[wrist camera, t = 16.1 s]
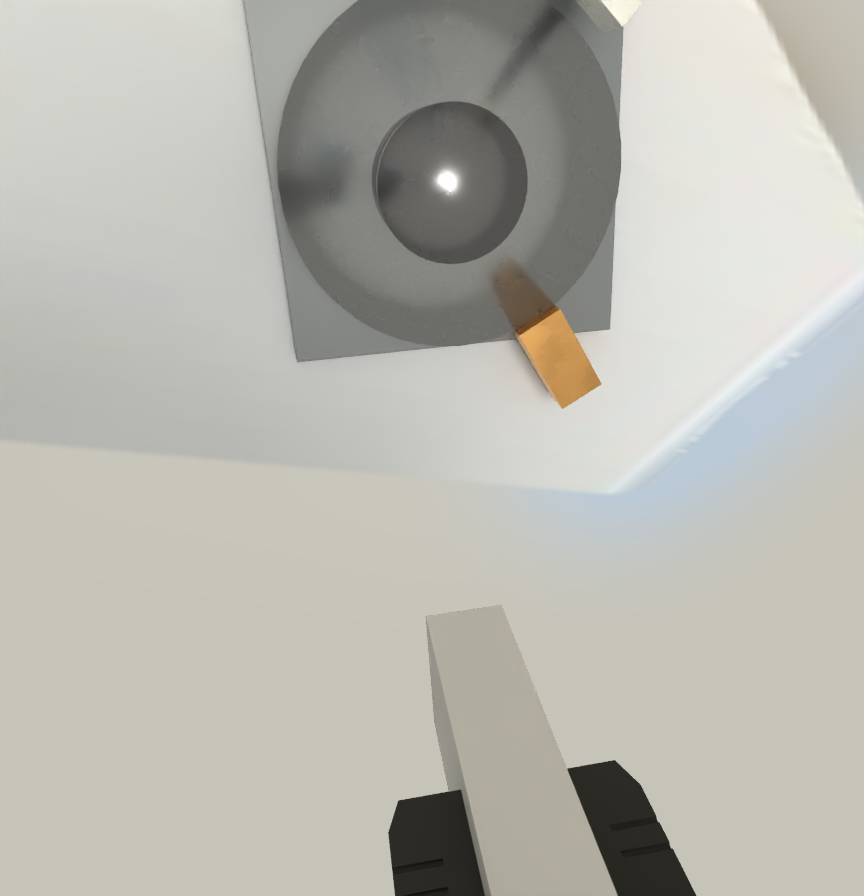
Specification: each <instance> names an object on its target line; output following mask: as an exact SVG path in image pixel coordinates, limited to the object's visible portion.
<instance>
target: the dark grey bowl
mask: <svg viewBox="0 0 864 896" xmlns="http://www.w3.org/2000/svg"><path fill="white" fill-rule="evenodd" d="M527 186H528V176H527V167H526V161H525V157H524V154H523V151H522V149H521V146H520V144H519V142H518V140H517V138H516V137H515V135H514V134H513V132H512V131H511V129H510V128H509V127H508V126H507V125H506V124H505V123H504V122H503V121H502V120H501V119H500V118H499V117H498V116H496V115H495V114H493V113H492V112H490V111H489V110H487V109H485V108H483V107H481V106H478V105H475V104H471V103H467V102H460V101H449V102H442V103H436V104H432V105H428V106H424V107H421V108H418V109H416V110H413V111H411V112H409V113H408V114H406V115H405V116H403V117H402V118H400V119H399V120H398V121H397V122H396V123H395V124H394V125H393V126H392V127H391V128H390V129H389V130H388V132H387V133H386V135H385V136H384V138H383V139H382V141H381V143H380V145H379V147H378V149H377V152H376V155H375V158H374V163H373V167H372V191H373V197H374V200H375V204H376V207H377V209H378V212H379V214H380V216H381V218H382V219H383V221H384V223H385V224H386V225H387V227H388V228H389V229H390V231H391V232H392V233H393V234H394V236H395V237H396V238H397V240H398V241H399V242H400V243H401V244H402V245H403V246H404V247H406V248H407V249H408V250H410V251H411V252H412V253H414V254H416V255H418V256H419V257H421V258H424V259H426V260H429V261H432V262H436V263H443V264H459V263H466V262H469V261H473V260H476V259H478V258H480V257H483V256H485V255H486V254H488V253H490V252H491V251H493V250H494V249H495V248H497V247H498V246H499V245H500V244H501V243H502V242H503V241H504V240H505V239H506V238H507V237H508V236H509V234H510V233H511V232H512V230H513V229H514V227H515V226H516V224H517V222H518V220H519V218H520V216H521V213H522V211H523V208H524V204H525V201H526V195H527Z"/></svg>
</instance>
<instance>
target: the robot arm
mask: <svg viewBox="0 0 864 896" xmlns="http://www.w3.org/2000/svg"><path fill="white" fill-rule="evenodd" d="M426 625H427V637H428V649H429V661H430V673H431V686H432V699H433V711H434V722H435V727H436V732H437V736H438V742H439V746H440V751H441V756H442V761H443V766H444V771H445V775H446V780H447V785H448V790H449V792H445V793H439V794H433V795H427V796H422V797H416V798H410V799H405V800H400V801H398V804H397V807H396V810H395V813H394V816H393V820H392V823H391V826H390V829H389V833H388V834H389V843H390V851H391V860H392V870H393V880H394V889H395V896H696V894H695V892H694V890H693V888H692V886H691V884H690V882H689V880H688V878H687V876H686V874H685V872H684V870H683V868H682V867H681V864H680V862H679V861H678V859H677V857H676V854H675V853H674V850H673V849H671V847H670V844H669V840H668V839H667V836H666V834H665V832H664V831H663V829H662V827H661V825H660V823H659V822H658V821H657V818H656V815H655V813H654V811H653V809H652V807H651V805H650V803H649V801H648V799H647V797H646V795H645V793H644V791H643V789H642V787H641V785H640V784H639V783H638V782H637V781H636V780H635V779H634V778H633V777H632V776H631V775H630V774H629V773H628V772H627V771H625V770H624V769H623V768H622V767H621V766H620V765H619V764H618V763H617V762H616V761H615V760H613V761H608V762H603V763H597V764H592V765H585V766H580V767H574V768H568V769H567V768H566V765H565V763H564V760H563V758H562V755H561V753H560V750H559V748H558V745H557V743H556V740H555V738H554V735H553V733H552V730H551V728H550V725H549V723H548V720H547V718H546V715H545V713H544V710H543V708H542V705H541V703H540V700H539V698H538V695H537V693H536V690H535V688H534V685H533V683H532V680H531V678H530V675H529V673H528V670H527V668H526V665H525V663H524V660H523V658H522V655H521V653H520V650H519V648H518V645H517V643H516V640H515V638H514V635H513V633H512V630H511V628H510V625H509V622H508V620H507V618H506V615H505V612H504V610H503V608H502V606H501V605H498V606H491V607H484V608H477V609H470V610H464V611H457V612H450V613H444V614H437V615H430V616H426Z"/></svg>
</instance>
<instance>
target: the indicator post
mask: <svg viewBox="0 0 864 896" xmlns="http://www.w3.org/2000/svg"><path fill="white" fill-rule="evenodd" d="M576 1H577V3H578V4H579V5H580V6H581V7H582V9H583V10H584V11H585V12H586V13H587V15H588V16H589V17H590V18H591V19H592V21H593V22H594V23H595V24H596V25H597V27H598V28H599V29H600V30H601V31H602V33H606V32H609V31H612V30H614V29H617V28H620V27H623V26H624V24H625V23H626V22H627V21H628V20H629V18H630V17H631V16H632V15H633V14H634V12H635V11H636V10H637V9H638V8H639V6H640V5H641V4H642V3H643V2H644V0H576Z"/></svg>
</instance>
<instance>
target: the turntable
mask: <svg viewBox="0 0 864 896" xmlns="http://www.w3.org/2000/svg"><path fill="white" fill-rule="evenodd" d="M449 101H460V102H467V103H471V104H475V105H478V106H481V107H483V108H485V109H487V110H489V111H490V112H492V113H493V114H495V115H496V116H498V117H499V118H500V119H501V120H502V121H503V122H504V123H505V124H506V125H507V126H508V127H509V128H510V129H511V131H512V132H513V134H514V135H515V137H516V138H517V140H518V142H519V144H520V146H521V149H522V151H523V154H524V157H525V161H526V167H527V176H528V186H527V195H526V201H525V204H524V208H523V211H522V213H521V216H520V218H519V220H518V222H517V224H516V226H515V227H514V229H513V230H512V232H511V233H510V234H509V236H508V237H507V238H506V239H505V240H504V241H503V242H502V243H501V244H500V245H499V246H498V247H497V248H495V249H494V250H493V251H491V252H490V253H488V254H486V255H485V256H483V257H480V258H478V259H476V260H473V261H469V262H466V263H459V264H443V263H436V262H432V261H429V260H426V259H424V258H421V257H419V256H418V255H416V254H414V253H412V252H411V251H410V250H408V249H407V248H406V247H404V246H403V245H402V244H401V243H400V242H399V241H398V240H397V238H396V237H395V236H394V234H393V233H392V232H391V231H390V229H389V228H388V227H387V225H386V224H385V223H384V221H383V219H382V218H381V216H380V214H379V212H378V209H377V207H376V204H375V200H374V197H373V191H372V167H373V163H374V158H375V155H376V152H377V149H378V147H379V145H380V143H381V141H382V139H383V138H384V136H385V135H386V133H387V132H388V130H389V129H390V128H391V127H392V126H393V125H394V124H395V123H396V122H397V121H398V120H399V119H400V118H402V117H403V116H405V115H406V114H408V113H409V112H411V111H413V110H416V109H418V108H421V107H424V106H428V105H432V104H436V103H442V102H449ZM277 170H278V186H279V192H280V197H281V203H282V208H283V212H284V216H285V219H286V222H287V225H288V228H289V231H290V234H291V237H292V239H293V241H294V243H295V245H296V247H297V250H298V252H299V254H300V256H301V258H302V259H303V261H304V262H305V264H306V266H307V267H308V269H309V271H310V272H311V274H312V275H313V277H314V278H315V279H316V280H317V282H318V283H319V284H320V285H321V286H322V288H323V289H324V290H325V291H326V293H327V294H328V295H329V296H331V297H332V298H333V299H334V300H335V301H336V302H337V303H338V304H339V305H340V306H341V307H342V308H343V309H345V310H346V311H347V312H349V313H350V314H351V315H353V316H354V317H355V318H357V319H358V320H360V321H361V322H363V323H365V324H367V325H368V326H370V327H372V328H374V329H376V330H377V331H379V332H382V333H385V334H387V335H390V336H392V337H395V338H397V339H401V340H405V341H409V342H413V343H417V344H424V345H433V346H460V345H467V344H474V343H480V342H484V341H487V340H491V339H494V338H498V337H501V336H503V335H505V334H508V333H510V332H512V331H513V333H514V334H515V336H516V338H517V339H518V341H519V343H520V344H521V346H522V348H523V350H524V351H525V353H526V355H527V356H528V358H529V360H530V361H531V363H532V365H533V366H534V368H535V370H536V371H537V373H538V375H539V377H540V378H541V380H542V382H543V383H544V385H545V387H546V388H547V390H548V392H549V393H550V395H551V397H552V398H553V399H554V400H555V401H556V402H557V403H558V404H559V406H560V407H561V408H562V409H563V408H565V407H566V406H568V405H569V404H571V403H573V402H574V401H576V400H577V399H579V398H580V397H582V396H584V395H585V394H587V393H588V392H590V391H591V390H593V389H595V388H596V387H598V386H599V385H601V382H600V380H599V379H598V377H597V375H596V373H595V371H594V369H593V368H592V366H591V364H590V362H589V360H588V358H587V357H586V355H585V353H584V351H583V349H582V347H581V346H580V344H579V342H578V340H577V338H576V337H575V335H574V333H573V331H572V329H571V327H570V326H569V324H568V322H567V320H566V318H565V316H564V315H563V313H562V311H561V309H560V308H558V307H557V306H556V305H555V304H556V303H557V302H558V301H559V300H560V299H561V298H562V297H563V296H564V295H565V294H566V293H567V292H568V291H569V290H570V289H571V288H572V286H573V285H574V284H575V283H576V282H577V280H578V279H579V278H580V277H581V276H582V274H583V273H584V271H585V270H586V268H587V267H588V265H589V264H590V262H591V261H592V259H593V258H594V256H595V254H596V252H597V250H598V248H599V246H600V244H601V242H602V240H603V238H604V236H605V233H606V231H607V228H608V225H609V223H610V220H611V217H612V214H613V210H614V206H615V202H616V198H617V194H618V187H619V179H620V171H621V140H620V130H619V121H618V117H617V112H616V108H615V104H614V99H613V96H612V93H611V90H610V88H609V85H608V82H607V79H606V77H605V74H604V72H603V70H602V68H601V66H600V64H599V63H598V61H597V59H596V57H595V55H594V53H593V51H592V50H591V48H590V47H589V46H588V44H587V43H586V41H585V40H584V39H583V37H582V36H581V34H580V33H579V32H578V31H577V29H576V28H575V27H574V26H573V25H572V24H571V23H570V22H569V21H568V20H567V19H566V18H565V17H564V16H563V14H561V13H560V12H559V11H558V10H556V9H555V8H554V7H553V6H551V5H550V4H549V3H548V2H547V1H545V0H358V1H357V2H355V3H354V4H353V5H352V6H351V7H349V8H348V9H347V10H346V11H345V12H343V13H342V14H341V15H340V16H339V17H338V18H336V19H335V20H334V21H333V23H332V24H331V25H330V26H329V27H328V28H327V29H326V31H325V32H324V33H323V34H322V35H321V36H320V37H319V38H318V40H317V41H316V43H315V44H314V46H313V47H312V49H311V50H310V52H309V53H308V55H307V56H306V58H305V59H304V61H303V63H302V65H301V67H300V69H299V71H298V73H297V75H296V77H295V79H294V81H293V84H292V86H291V89H290V92H289V95H288V98H287V101H286V104H285V107H284V110H283V116H282V121H281V126H280V131H279V138H278V153H277Z"/></svg>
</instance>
